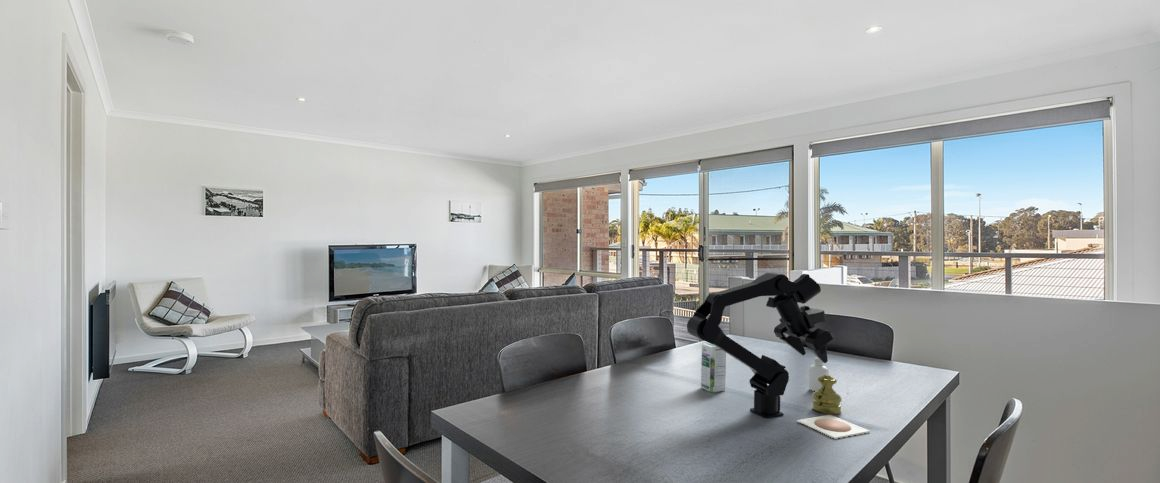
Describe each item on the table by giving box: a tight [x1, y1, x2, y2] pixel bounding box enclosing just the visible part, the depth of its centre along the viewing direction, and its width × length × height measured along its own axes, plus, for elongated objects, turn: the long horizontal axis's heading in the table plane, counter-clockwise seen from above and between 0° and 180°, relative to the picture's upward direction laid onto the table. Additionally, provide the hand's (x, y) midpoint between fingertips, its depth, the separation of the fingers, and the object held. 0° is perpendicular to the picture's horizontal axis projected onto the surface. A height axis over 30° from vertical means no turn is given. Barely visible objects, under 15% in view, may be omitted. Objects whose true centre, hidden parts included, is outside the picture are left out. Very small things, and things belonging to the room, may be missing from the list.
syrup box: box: [700, 342, 727, 393], centre depth 160 cm, size 6×6×14 cm
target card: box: [796, 414, 871, 440], centre depth 129 cm, size 12×12×1 cm
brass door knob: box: [811, 374, 842, 415], centre depth 141 cm, size 7×7×10 cm
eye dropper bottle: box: [808, 356, 830, 392], centre depth 159 cm, size 4×6×12 cm
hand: (814, 358), depth 142 cm, fingers open, 9 cm apart
